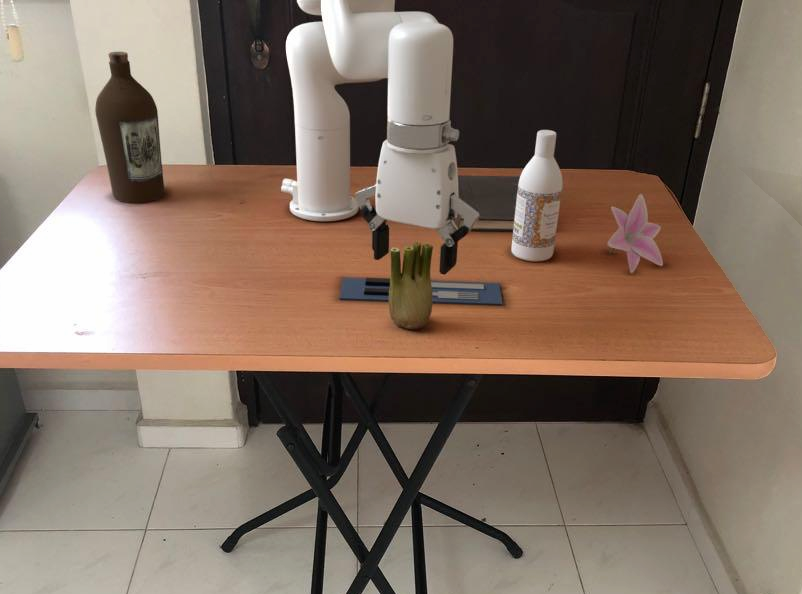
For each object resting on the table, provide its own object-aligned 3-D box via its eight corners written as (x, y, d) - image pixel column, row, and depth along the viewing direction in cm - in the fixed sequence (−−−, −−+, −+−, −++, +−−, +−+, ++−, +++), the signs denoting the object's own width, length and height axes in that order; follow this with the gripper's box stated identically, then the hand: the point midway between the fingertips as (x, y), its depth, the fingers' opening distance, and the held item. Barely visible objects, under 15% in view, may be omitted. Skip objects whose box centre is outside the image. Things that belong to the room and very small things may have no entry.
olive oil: (99, 193, 156) (74, 51, 142) (149, 181, 163) (130, 44, 149) (128, 208, 150) (104, 62, 136) (178, 195, 156) (161, 54, 143)
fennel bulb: (386, 330, 115) (388, 249, 108) (392, 314, 119) (394, 235, 112) (428, 334, 114) (432, 253, 107) (432, 318, 118) (437, 239, 111)
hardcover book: (528, 187, 165) (530, 176, 164) (548, 232, 146) (549, 219, 145) (448, 186, 165) (449, 174, 163) (457, 230, 146) (458, 218, 144)
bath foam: (529, 266, 134) (545, 141, 123) (502, 251, 139) (514, 129, 127) (561, 257, 137) (579, 134, 126) (533, 242, 142) (548, 123, 131)
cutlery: (363, 296, 123) (363, 292, 122) (365, 281, 127) (365, 277, 127) (485, 300, 123) (485, 296, 122) (483, 285, 127) (483, 281, 126)
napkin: (339, 299, 122) (339, 297, 122) (343, 279, 128) (343, 277, 128) (502, 305, 122) (502, 303, 122) (498, 284, 128) (499, 283, 128)
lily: (588, 277, 133) (623, 237, 126) (576, 225, 140) (609, 183, 132) (650, 294, 137) (687, 256, 130) (635, 242, 144) (670, 203, 136)
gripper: (494, 136, 101) (484, 266, 111) (370, 117, 108) (369, 242, 117) (471, 151, 96) (462, 287, 105) (341, 130, 102) (343, 260, 111)
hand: (413, 263), depth 111 cm, fingers open, 9 cm apart
